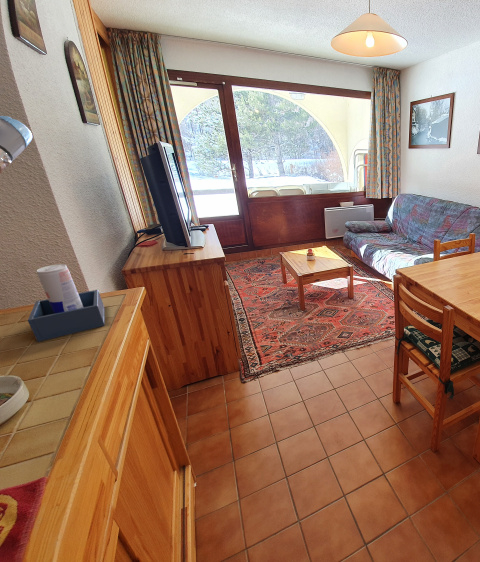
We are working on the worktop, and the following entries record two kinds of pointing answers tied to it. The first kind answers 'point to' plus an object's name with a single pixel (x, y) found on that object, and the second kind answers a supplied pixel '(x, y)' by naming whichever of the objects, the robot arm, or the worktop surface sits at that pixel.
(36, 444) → the worktop surface
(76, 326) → the tote
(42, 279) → the beverage can
